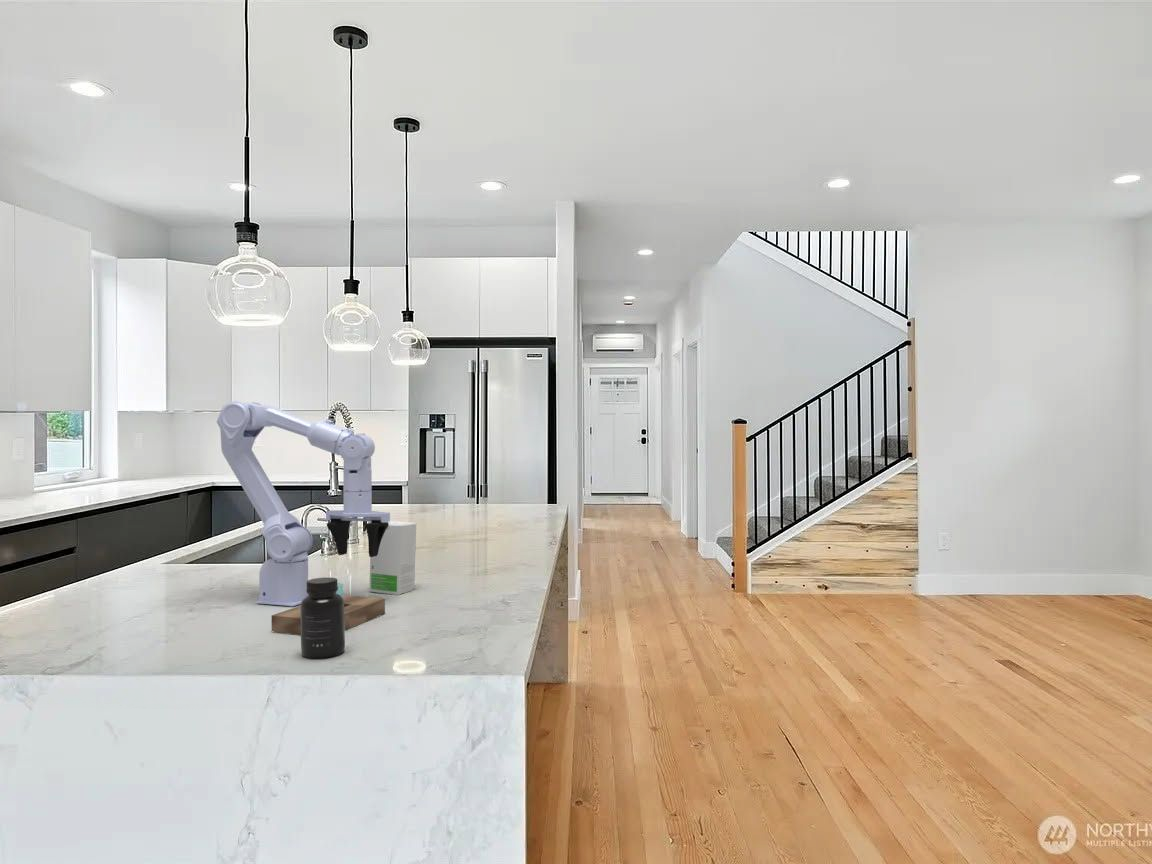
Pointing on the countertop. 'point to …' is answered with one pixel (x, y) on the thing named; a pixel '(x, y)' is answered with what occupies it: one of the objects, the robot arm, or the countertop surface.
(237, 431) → the robot arm
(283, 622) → the socket board
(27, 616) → the countertop surface
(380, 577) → the skincare box
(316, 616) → the supplement bottle
